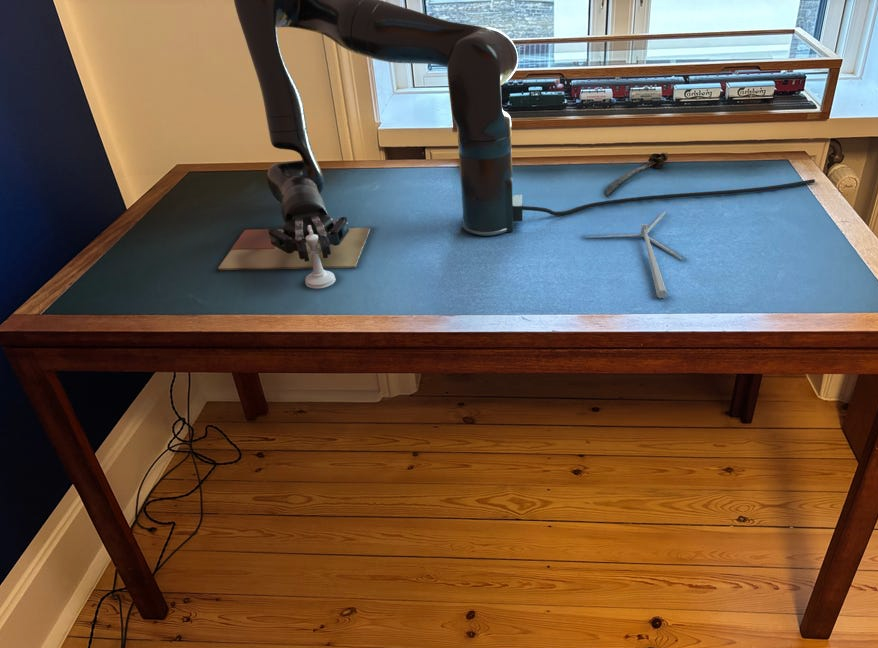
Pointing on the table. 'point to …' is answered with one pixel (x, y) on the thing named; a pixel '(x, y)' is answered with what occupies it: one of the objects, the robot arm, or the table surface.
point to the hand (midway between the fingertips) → (315, 254)
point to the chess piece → (317, 265)
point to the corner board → (261, 254)
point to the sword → (638, 170)
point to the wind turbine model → (651, 255)
